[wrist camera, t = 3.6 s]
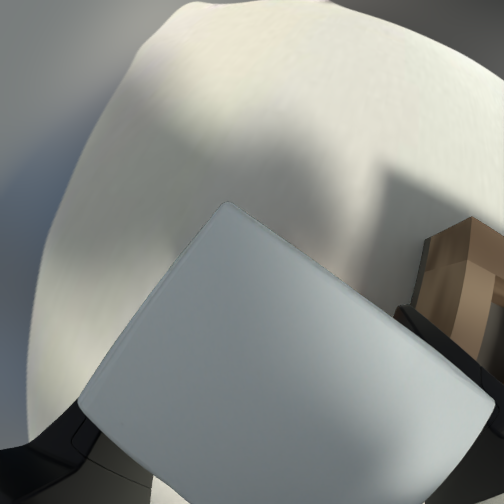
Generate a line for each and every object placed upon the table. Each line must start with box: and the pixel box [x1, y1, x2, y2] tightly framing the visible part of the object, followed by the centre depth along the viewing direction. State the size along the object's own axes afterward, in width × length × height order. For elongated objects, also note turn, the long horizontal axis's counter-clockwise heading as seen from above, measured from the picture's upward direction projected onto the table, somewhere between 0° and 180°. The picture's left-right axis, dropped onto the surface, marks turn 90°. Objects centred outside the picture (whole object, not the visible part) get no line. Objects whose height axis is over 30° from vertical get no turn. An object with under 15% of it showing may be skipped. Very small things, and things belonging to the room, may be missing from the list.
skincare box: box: [78, 201, 495, 504], centre depth 9 cm, size 6×4×12 cm
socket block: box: [410, 216, 504, 385], centre depth 11 cm, size 13×13×5 cm
